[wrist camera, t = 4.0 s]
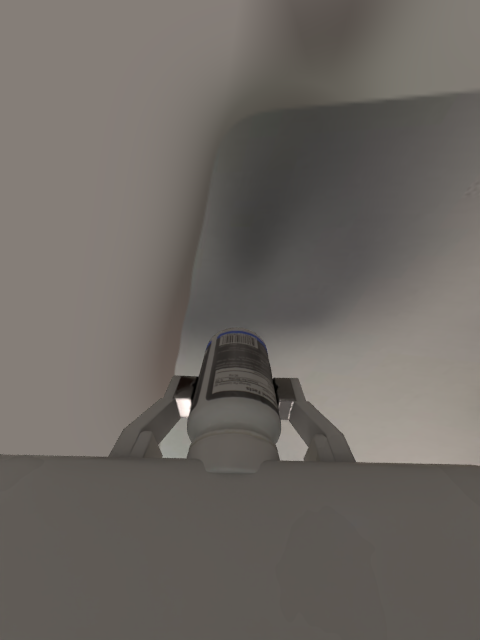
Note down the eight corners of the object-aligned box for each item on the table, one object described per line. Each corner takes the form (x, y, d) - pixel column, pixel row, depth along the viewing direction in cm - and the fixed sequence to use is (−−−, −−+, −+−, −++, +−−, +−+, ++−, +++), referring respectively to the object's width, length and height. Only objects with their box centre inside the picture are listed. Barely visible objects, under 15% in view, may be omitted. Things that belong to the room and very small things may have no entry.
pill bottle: (236, 379, 16) (232, 519, 9) (194, 350, 14) (145, 492, 7) (279, 351, 14) (318, 496, 7) (237, 313, 12) (230, 454, 5)
